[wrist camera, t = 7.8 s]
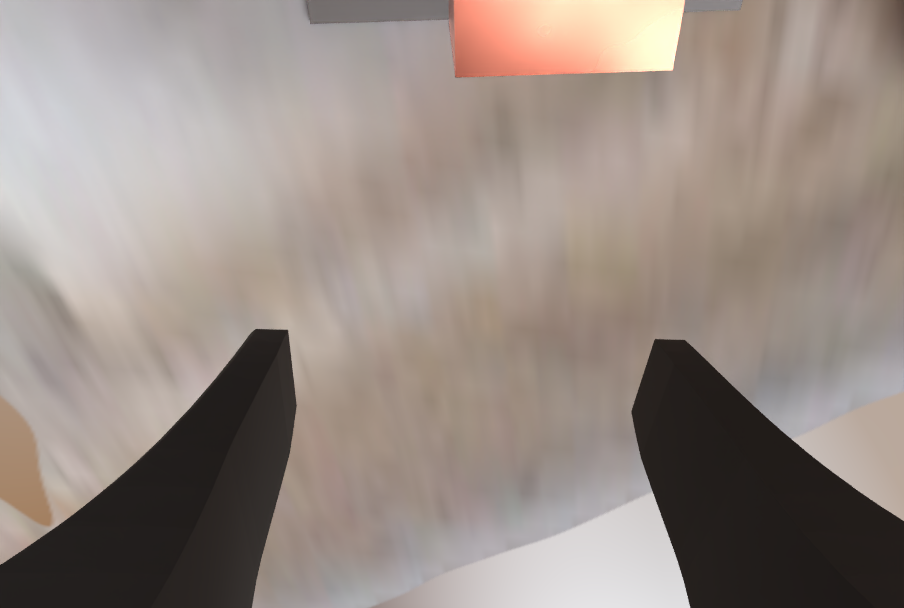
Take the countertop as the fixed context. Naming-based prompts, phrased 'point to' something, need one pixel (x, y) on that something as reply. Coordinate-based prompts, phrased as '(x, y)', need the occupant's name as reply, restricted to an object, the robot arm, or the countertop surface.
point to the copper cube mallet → (563, 36)
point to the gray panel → (434, 9)
